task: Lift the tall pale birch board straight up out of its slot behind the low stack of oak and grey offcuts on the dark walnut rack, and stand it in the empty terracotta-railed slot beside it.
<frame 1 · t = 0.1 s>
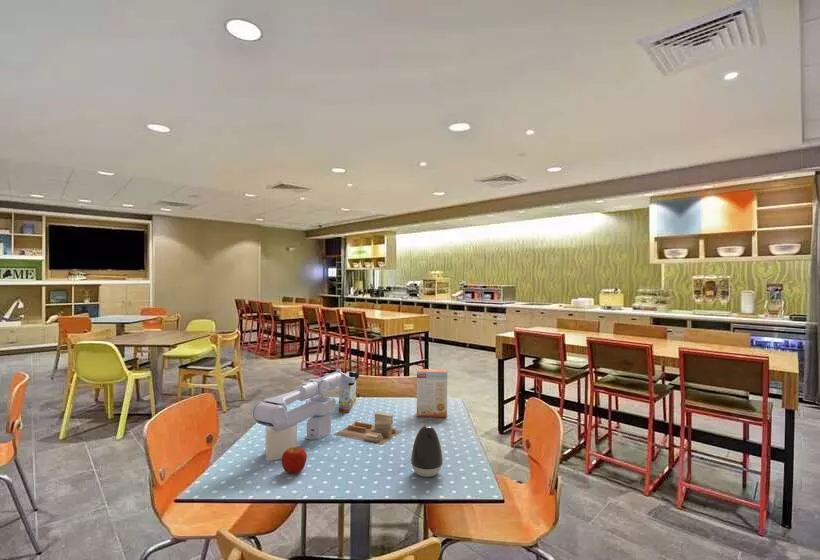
hand: (350, 373, 182), 21 cm above the table, tool horizontal, fingers open, 7 cm apart
rack: (368, 435, 165), on the table
birch board: (383, 433, 165), point 1 cm above the table, touching rack
toilet tissue: (281, 454, 147), on the table, touching arm
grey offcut: (373, 439, 159), point 1 cm above the table, touching oak offcut, rack
cracker box: (431, 415, 192), on the table
oak offcut: (373, 436, 159), point 2 cm above the table, touching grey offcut
dark grey egg shape: (426, 474, 133), on the table
apple: (294, 472, 133), on the table
snack box: (347, 406, 205), on the table
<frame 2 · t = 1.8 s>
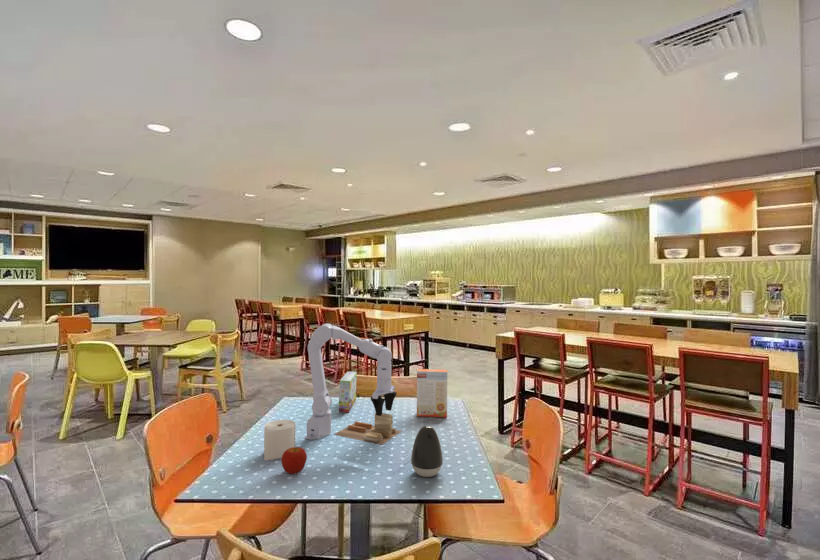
hand: (383, 412, 165), 9 cm above the table, tool pointing down, fingers open, 7 cm apart
toilet tissue: (279, 454, 147), on the table
everything else where it was.
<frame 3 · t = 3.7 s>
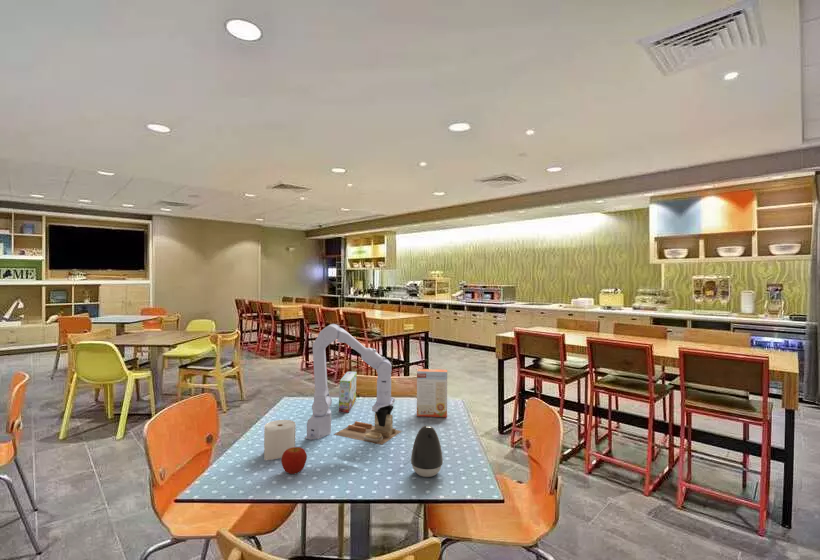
hand: (383, 425, 165), 4 cm above the table, tool pointing down, fingers closed on birch board, 2 cm apart
birch board: (383, 433, 165), point 1 cm above the table, touching gripper, rack
everything else where it was.
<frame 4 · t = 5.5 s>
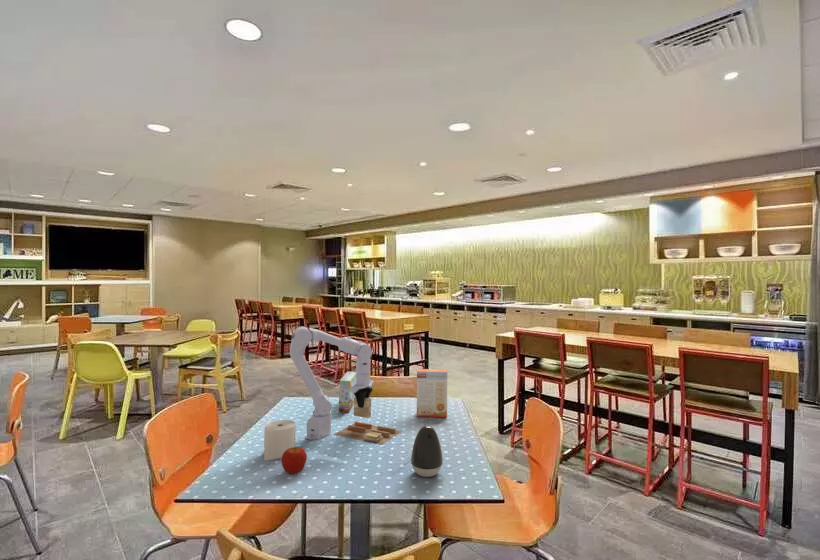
hand: (362, 406, 170), 10 cm above the table, tool pointing down, fingers closed on birch board
birch board: (362, 416, 170), point 6 cm above the table, touching gripper
everything else where it was.
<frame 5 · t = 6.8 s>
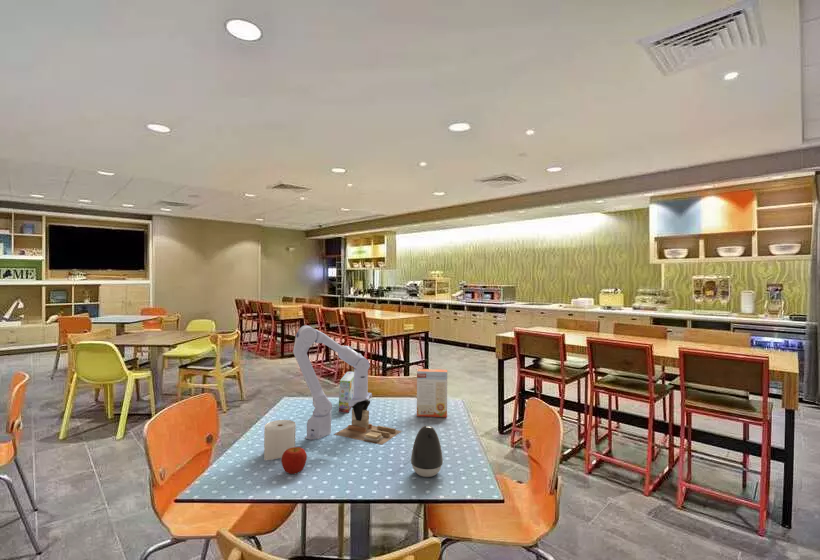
hand: (360, 419, 170), 5 cm above the table, tool pointing down, fingers closed on birch board, 2 cm apart
birch board: (360, 428, 170), point 1 cm above the table, touching gripper, rack
everything else where it was.
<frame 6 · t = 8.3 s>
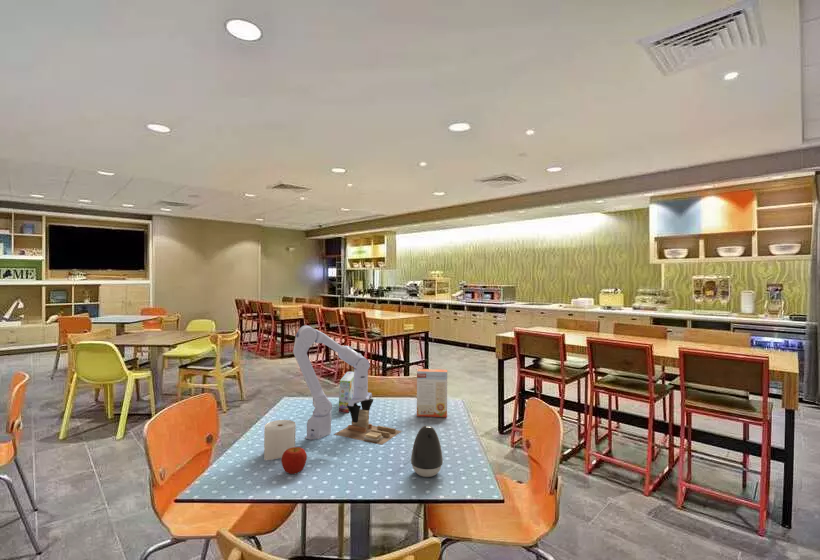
hand: (360, 419, 170), 5 cm above the table, tool pointing down, fingers open, 7 cm apart
birch board: (360, 428, 170), point 1 cm above the table, touching rack
everything else where it was.
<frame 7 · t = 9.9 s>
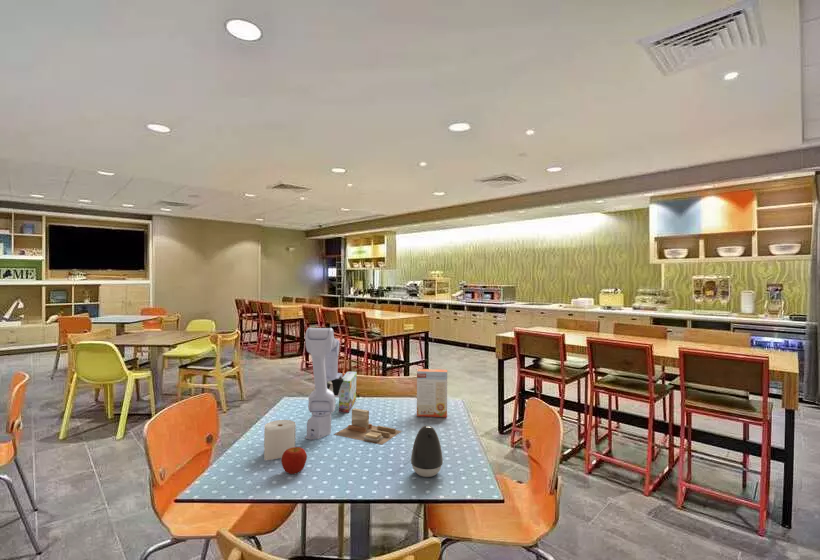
hand: (330, 397, 183), 10 cm above the table, tool pointing down, fingers open, 7 cm apart
nothing on the table moved.
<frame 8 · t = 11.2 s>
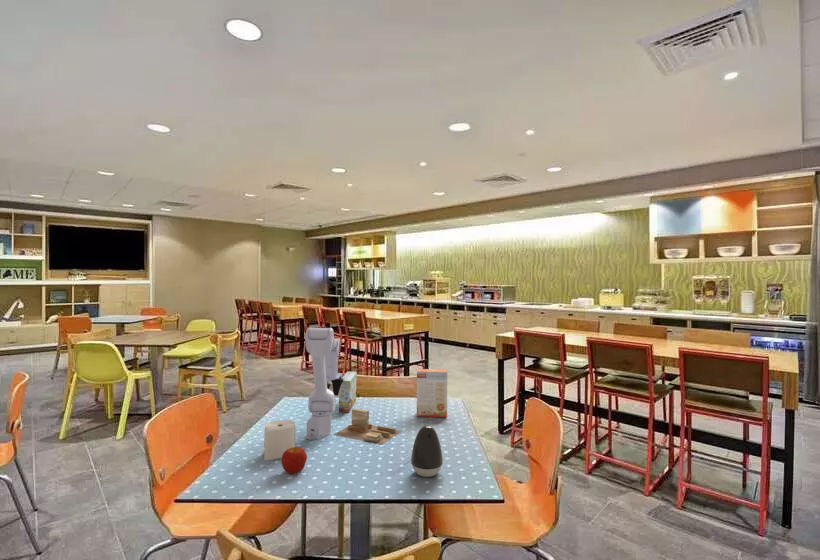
hand: (330, 397, 183), 10 cm above the table, tool pointing down, fingers open, 7 cm apart
nothing on the table moved.
at the end: birch board 0.0 cm from the target spot on the rack, point 1.2 cm above the rack's base; birch board tilted 0°; oak offcut moved 0.0 cm from its start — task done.
